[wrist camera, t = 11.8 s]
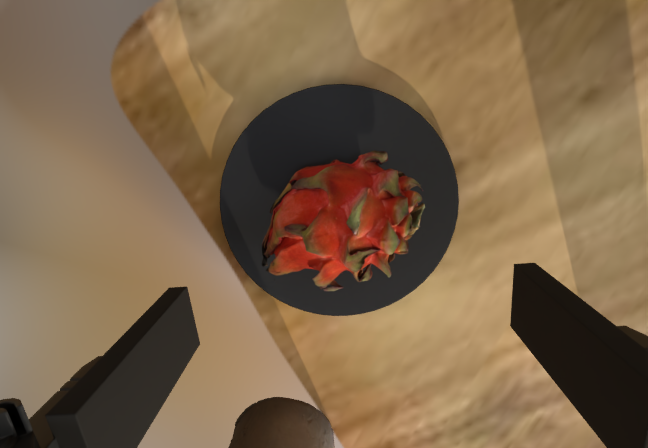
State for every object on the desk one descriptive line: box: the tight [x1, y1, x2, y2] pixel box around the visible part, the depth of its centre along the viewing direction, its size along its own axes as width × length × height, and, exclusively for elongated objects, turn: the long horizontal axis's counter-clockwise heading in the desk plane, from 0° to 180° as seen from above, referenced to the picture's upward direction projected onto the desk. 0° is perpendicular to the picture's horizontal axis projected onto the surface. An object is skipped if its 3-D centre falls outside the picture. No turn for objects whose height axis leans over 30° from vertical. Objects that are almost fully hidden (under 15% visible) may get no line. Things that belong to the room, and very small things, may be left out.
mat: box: [220, 84, 459, 316], centre depth 28 cm, size 18×18×1 cm
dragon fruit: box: [262, 151, 425, 291], centre depth 24 cm, size 8×8×12 cm
